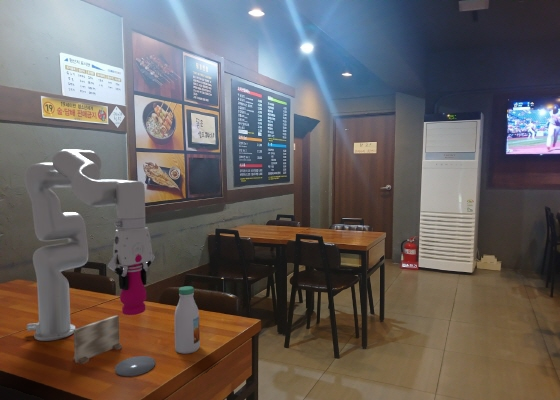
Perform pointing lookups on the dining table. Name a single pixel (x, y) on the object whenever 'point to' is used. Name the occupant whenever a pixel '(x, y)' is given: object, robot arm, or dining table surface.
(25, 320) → the dining table surface
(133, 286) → the pepper mill
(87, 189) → the robot arm
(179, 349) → the milk bottle
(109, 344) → the screen
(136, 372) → the coaster
